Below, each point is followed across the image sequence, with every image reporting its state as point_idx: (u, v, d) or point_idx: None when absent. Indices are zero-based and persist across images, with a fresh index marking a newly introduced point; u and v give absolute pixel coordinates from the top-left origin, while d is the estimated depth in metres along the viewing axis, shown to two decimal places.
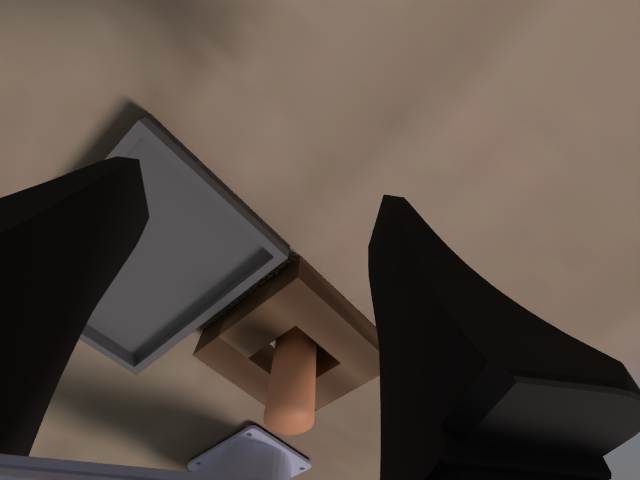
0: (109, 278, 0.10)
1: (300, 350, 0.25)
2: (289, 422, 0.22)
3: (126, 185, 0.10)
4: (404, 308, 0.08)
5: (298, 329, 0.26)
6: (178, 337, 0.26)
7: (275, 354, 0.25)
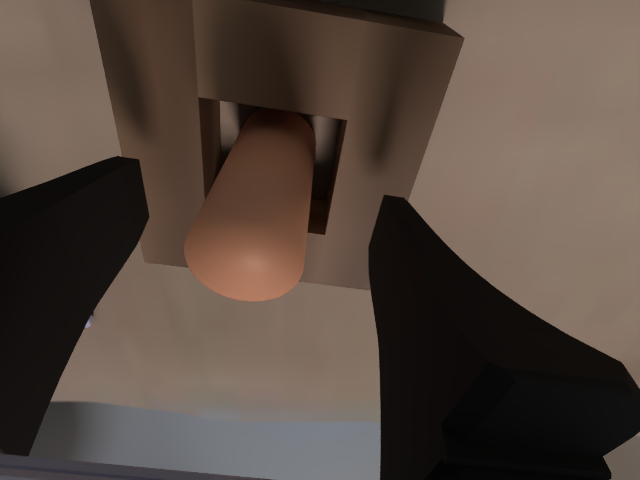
0: (109, 278, 0.10)
1: (308, 165, 0.12)
2: (237, 266, 0.09)
3: (126, 185, 0.10)
4: (404, 308, 0.08)
5: (308, 135, 0.13)
6: None
7: (257, 135, 0.12)
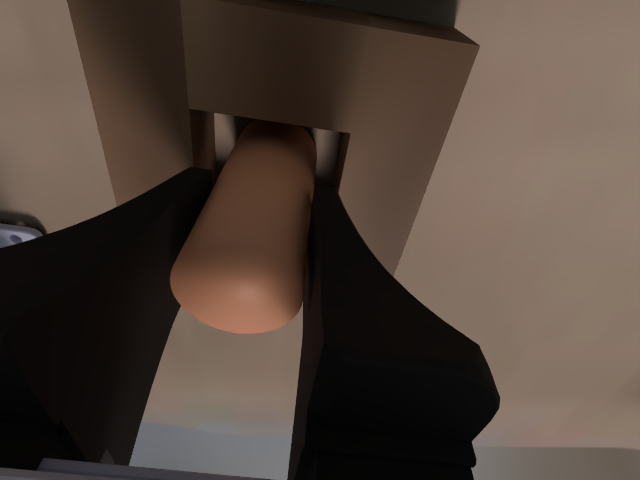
0: None
1: (308, 181, 0.11)
2: (229, 298, 0.08)
3: (203, 196, 0.10)
4: (312, 297, 0.08)
5: (309, 147, 0.12)
6: None
7: (253, 150, 0.11)
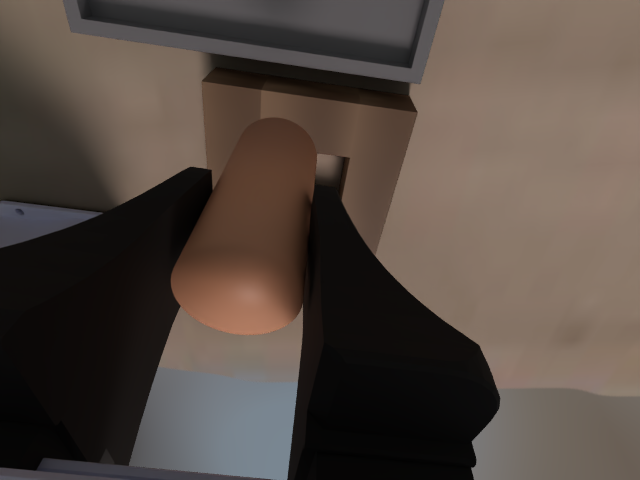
0: None
1: (308, 182, 0.11)
2: (230, 299, 0.09)
3: (202, 196, 0.10)
4: (312, 297, 0.08)
5: (308, 148, 0.12)
6: (195, 43, 0.17)
7: (253, 151, 0.11)
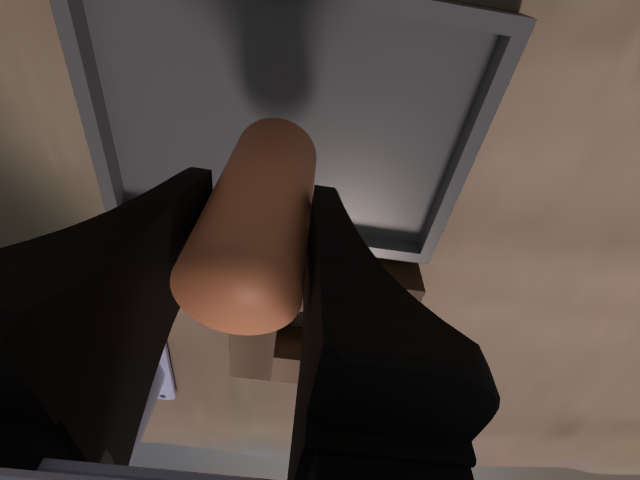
0: None
1: (307, 181, 0.11)
2: (229, 300, 0.09)
3: (202, 196, 0.10)
4: (312, 296, 0.08)
5: (307, 147, 0.12)
6: None
7: (251, 152, 0.11)
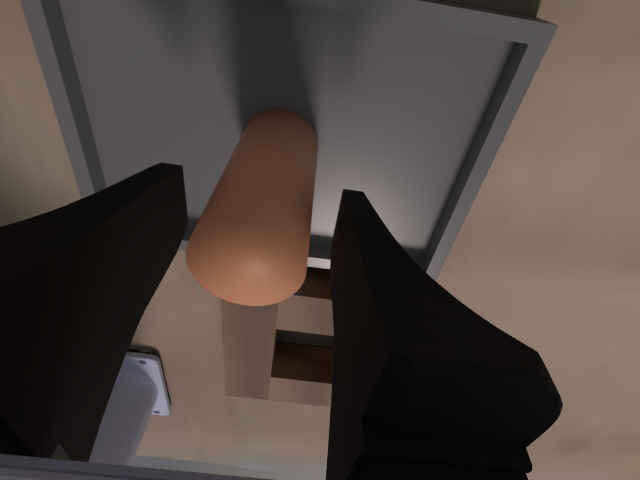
0: (155, 284, 0.10)
1: (310, 166, 0.12)
2: (240, 271, 0.09)
3: (172, 191, 0.10)
4: (350, 301, 0.08)
5: (310, 136, 0.13)
6: None
7: (258, 138, 0.12)
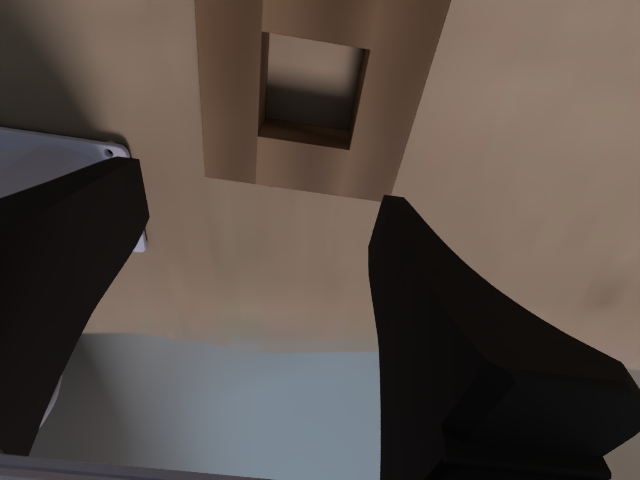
0: (109, 278, 0.10)
1: None
2: None
3: (126, 185, 0.10)
4: (404, 308, 0.08)
5: None
6: None
7: None
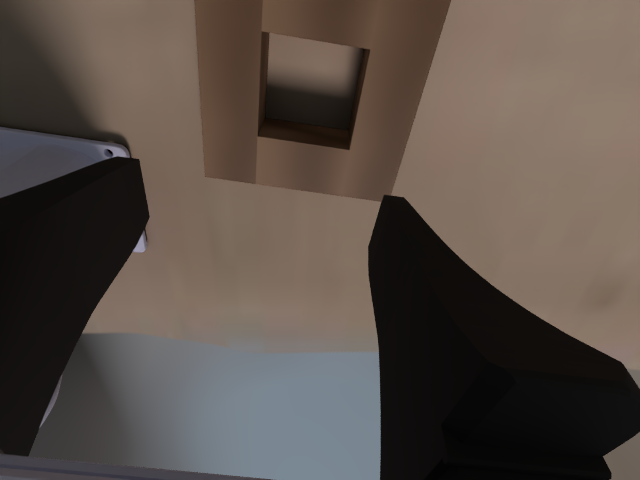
0: (109, 278, 0.10)
1: None
2: None
3: (126, 185, 0.10)
4: (404, 308, 0.08)
5: None
6: None
7: None
